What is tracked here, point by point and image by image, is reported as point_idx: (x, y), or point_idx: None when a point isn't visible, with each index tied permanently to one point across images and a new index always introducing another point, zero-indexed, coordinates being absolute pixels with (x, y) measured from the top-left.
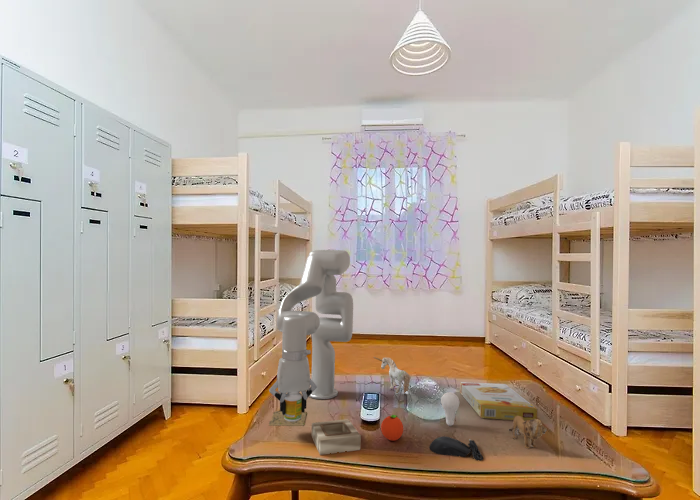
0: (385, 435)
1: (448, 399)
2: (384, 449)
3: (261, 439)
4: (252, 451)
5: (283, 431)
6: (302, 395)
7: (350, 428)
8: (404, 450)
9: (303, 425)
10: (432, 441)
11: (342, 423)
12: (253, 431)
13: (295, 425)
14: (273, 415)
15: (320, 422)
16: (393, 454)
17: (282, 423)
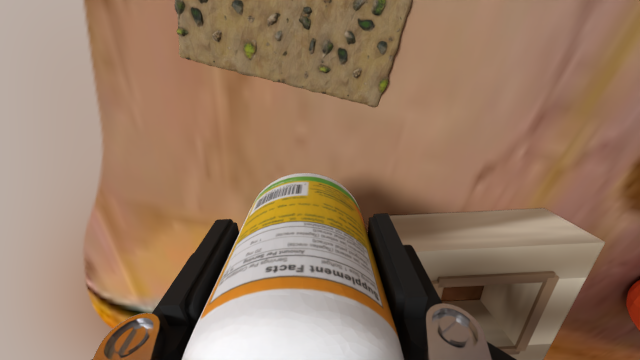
0: (633, 318)
1: None
2: (568, 326)
3: (174, 206)
4: (161, 280)
5: (267, 149)
6: (419, 350)
7: (543, 321)
8: (614, 336)
9: (375, 105)
10: None
11: (543, 279)
12: (111, 119)
13: (333, 94)
14: None
15: (447, 255)
16: (569, 347)
17: (260, 55)
